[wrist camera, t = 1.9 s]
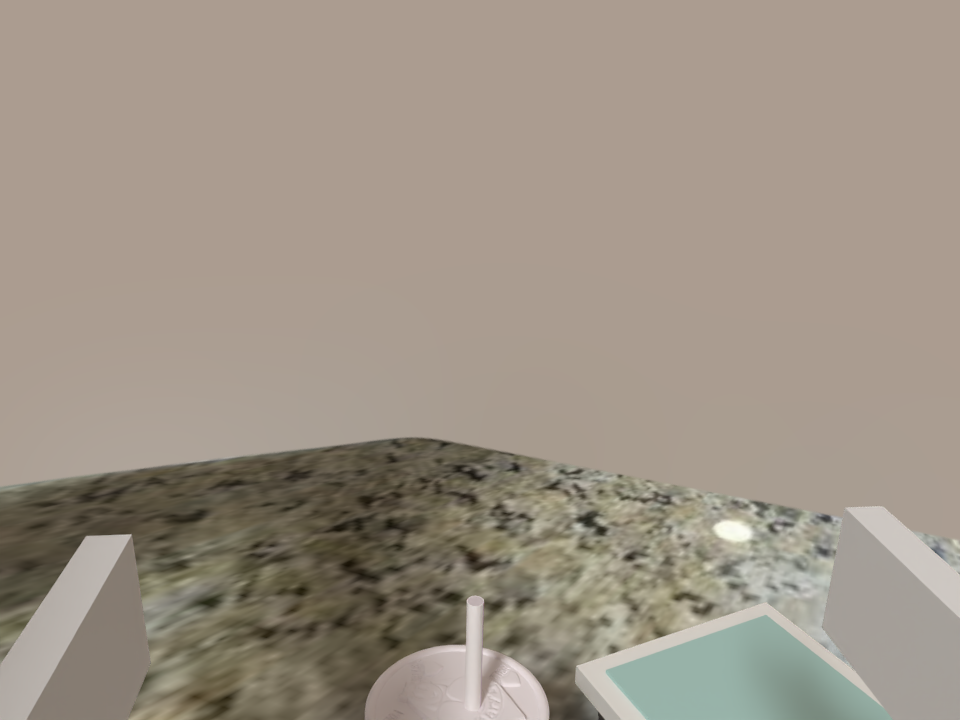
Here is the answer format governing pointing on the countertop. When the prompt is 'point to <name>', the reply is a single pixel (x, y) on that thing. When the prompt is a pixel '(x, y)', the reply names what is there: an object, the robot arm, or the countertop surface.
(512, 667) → the smoothie
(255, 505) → the countertop surface
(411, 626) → the countertop surface
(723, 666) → the tray
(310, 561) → the countertop surface
